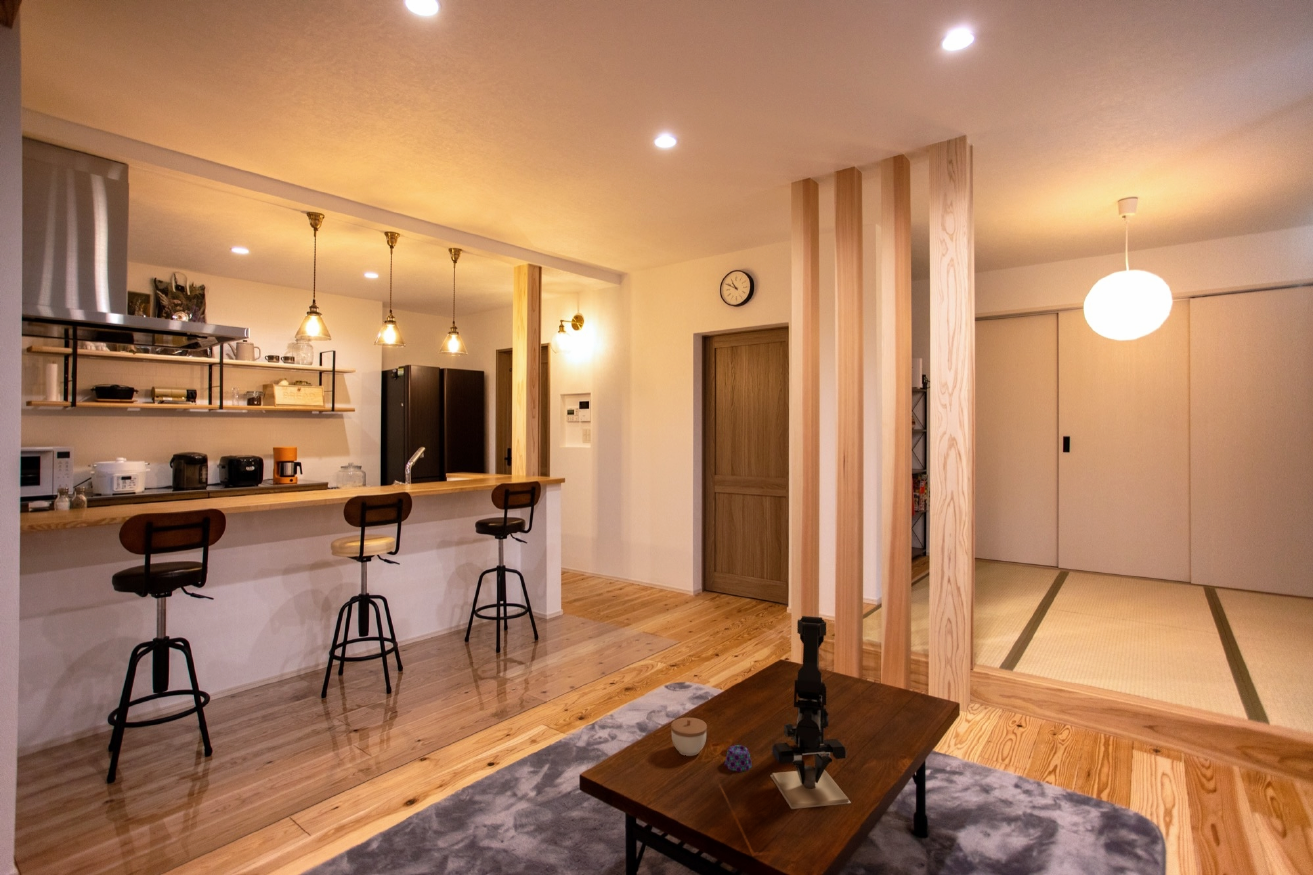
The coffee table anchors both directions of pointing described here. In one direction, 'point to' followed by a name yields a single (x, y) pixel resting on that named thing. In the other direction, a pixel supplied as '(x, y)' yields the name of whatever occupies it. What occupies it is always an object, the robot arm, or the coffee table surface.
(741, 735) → the coffee table surface
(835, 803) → the mat
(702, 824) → the coffee table surface
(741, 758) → the purple round dome
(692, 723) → the lidded jar
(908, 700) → the coffee table surface
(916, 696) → the coffee table surface
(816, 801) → the lid
